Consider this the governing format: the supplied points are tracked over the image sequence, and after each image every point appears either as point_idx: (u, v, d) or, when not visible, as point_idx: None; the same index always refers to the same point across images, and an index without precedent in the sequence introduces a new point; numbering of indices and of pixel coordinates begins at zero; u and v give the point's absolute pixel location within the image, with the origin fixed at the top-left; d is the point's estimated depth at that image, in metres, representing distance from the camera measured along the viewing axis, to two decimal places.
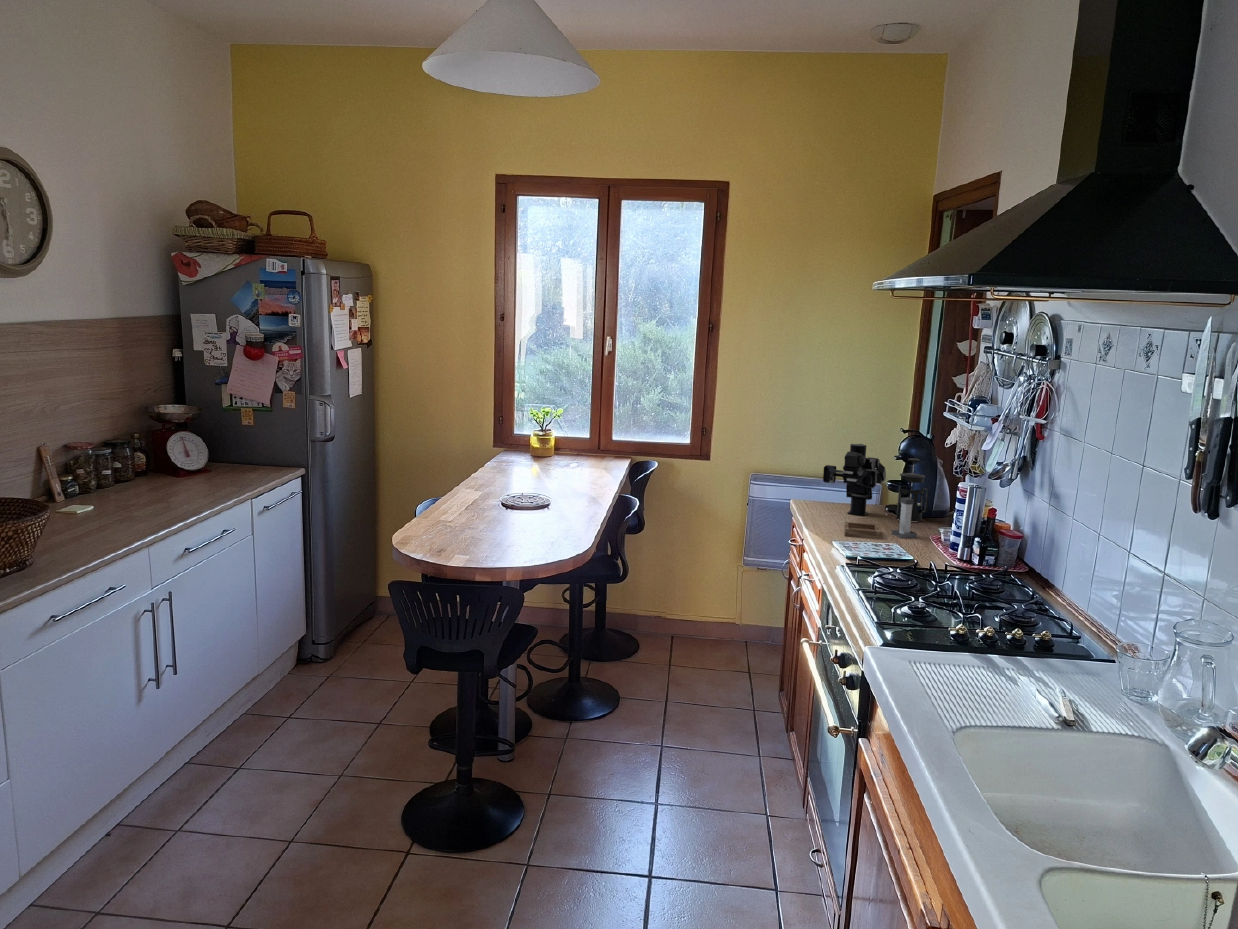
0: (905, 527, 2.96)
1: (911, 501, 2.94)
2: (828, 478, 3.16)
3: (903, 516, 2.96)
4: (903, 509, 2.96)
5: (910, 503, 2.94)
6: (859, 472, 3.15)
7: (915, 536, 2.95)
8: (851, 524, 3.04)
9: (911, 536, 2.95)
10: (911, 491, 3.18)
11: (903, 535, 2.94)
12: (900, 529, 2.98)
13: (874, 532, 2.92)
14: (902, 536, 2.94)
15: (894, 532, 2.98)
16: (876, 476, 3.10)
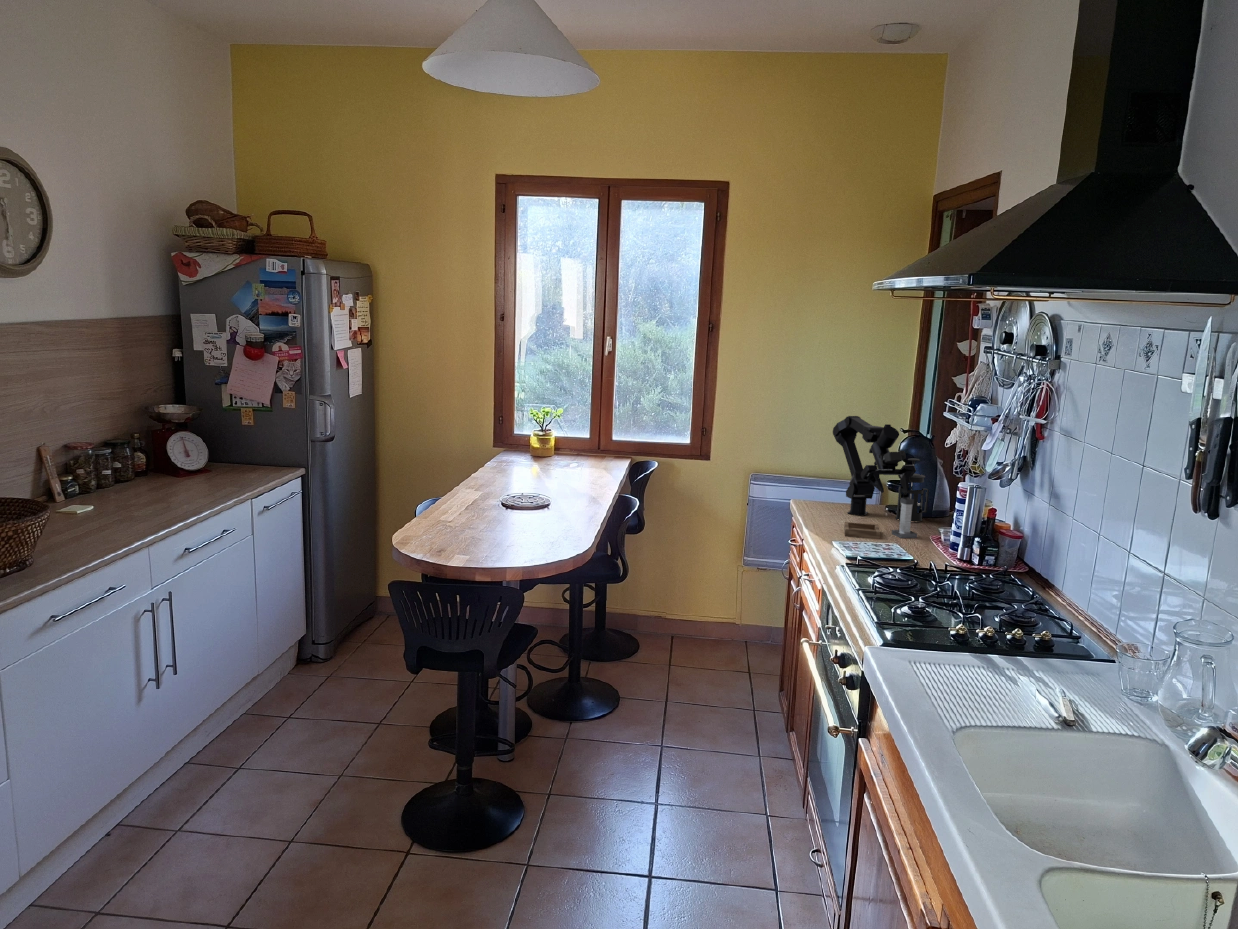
0: (905, 527, 2.96)
1: (911, 501, 2.94)
2: (869, 479, 3.07)
3: (903, 516, 2.96)
4: (903, 509, 2.96)
5: (910, 503, 2.94)
6: None
7: (915, 536, 2.95)
8: (851, 524, 3.04)
9: (911, 536, 2.95)
10: (911, 491, 3.18)
11: (903, 535, 2.94)
12: (900, 529, 2.98)
13: (874, 532, 2.92)
14: (902, 536, 2.94)
15: (894, 532, 2.98)
16: None
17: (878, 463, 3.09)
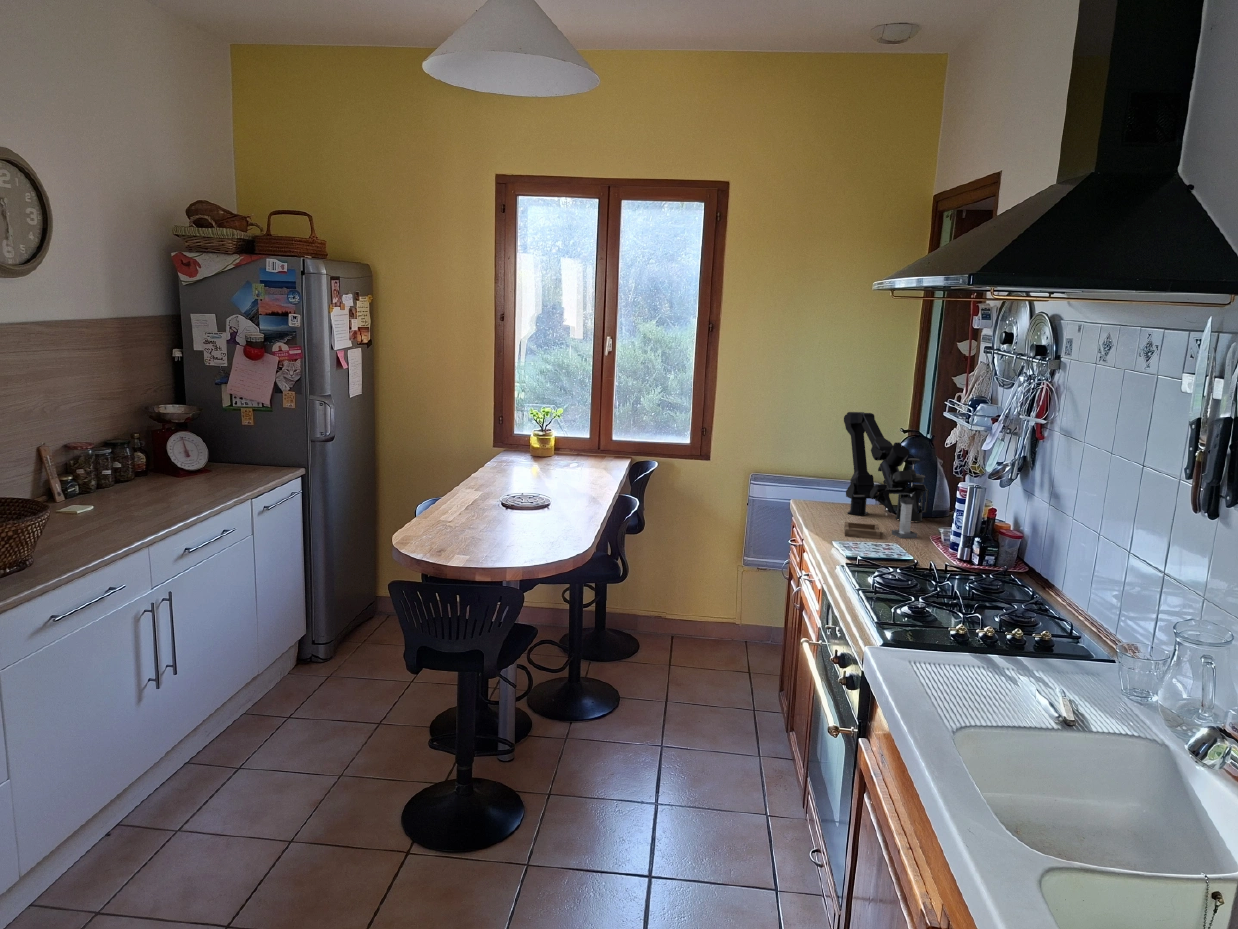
0: (905, 527, 2.96)
1: (911, 501, 2.94)
2: (879, 498, 3.00)
3: (903, 516, 2.96)
4: (903, 509, 2.96)
5: (910, 503, 2.94)
6: None
7: (915, 536, 2.95)
8: (851, 524, 3.04)
9: (911, 536, 2.95)
10: None
11: (903, 535, 2.94)
12: (900, 529, 2.98)
13: (874, 532, 2.92)
14: (902, 536, 2.94)
15: (894, 532, 2.98)
16: None
17: (888, 482, 3.03)
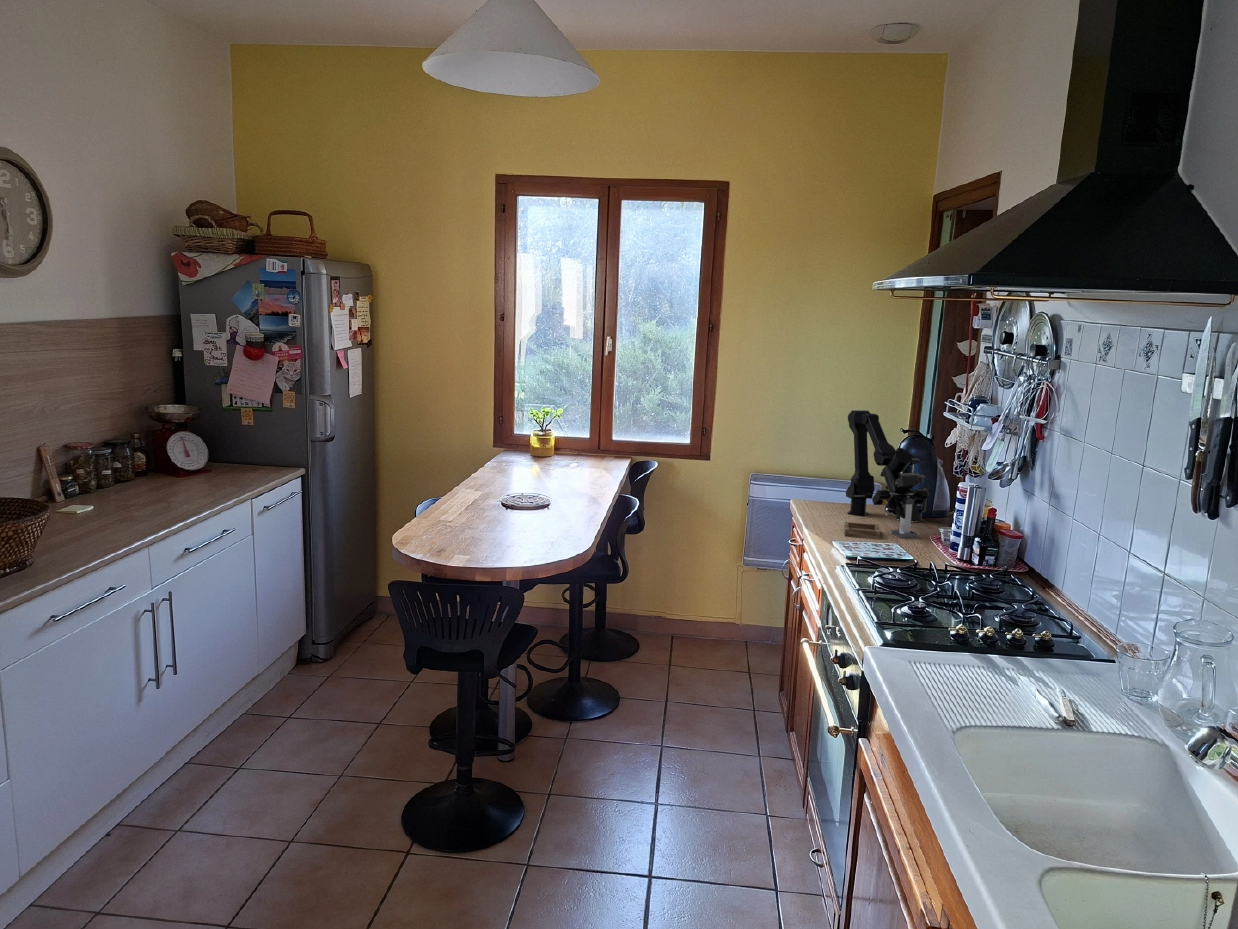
0: (905, 527, 2.96)
1: (911, 501, 2.94)
2: (890, 504, 2.99)
3: None
4: (903, 509, 2.96)
5: (910, 503, 2.94)
6: None
7: (915, 536, 2.95)
8: (851, 524, 3.04)
9: (911, 536, 2.95)
10: (911, 491, 3.18)
11: (903, 535, 2.94)
12: (900, 529, 2.98)
13: (874, 532, 2.92)
14: (902, 536, 2.94)
15: (894, 532, 2.98)
16: None
17: (890, 488, 3.01)
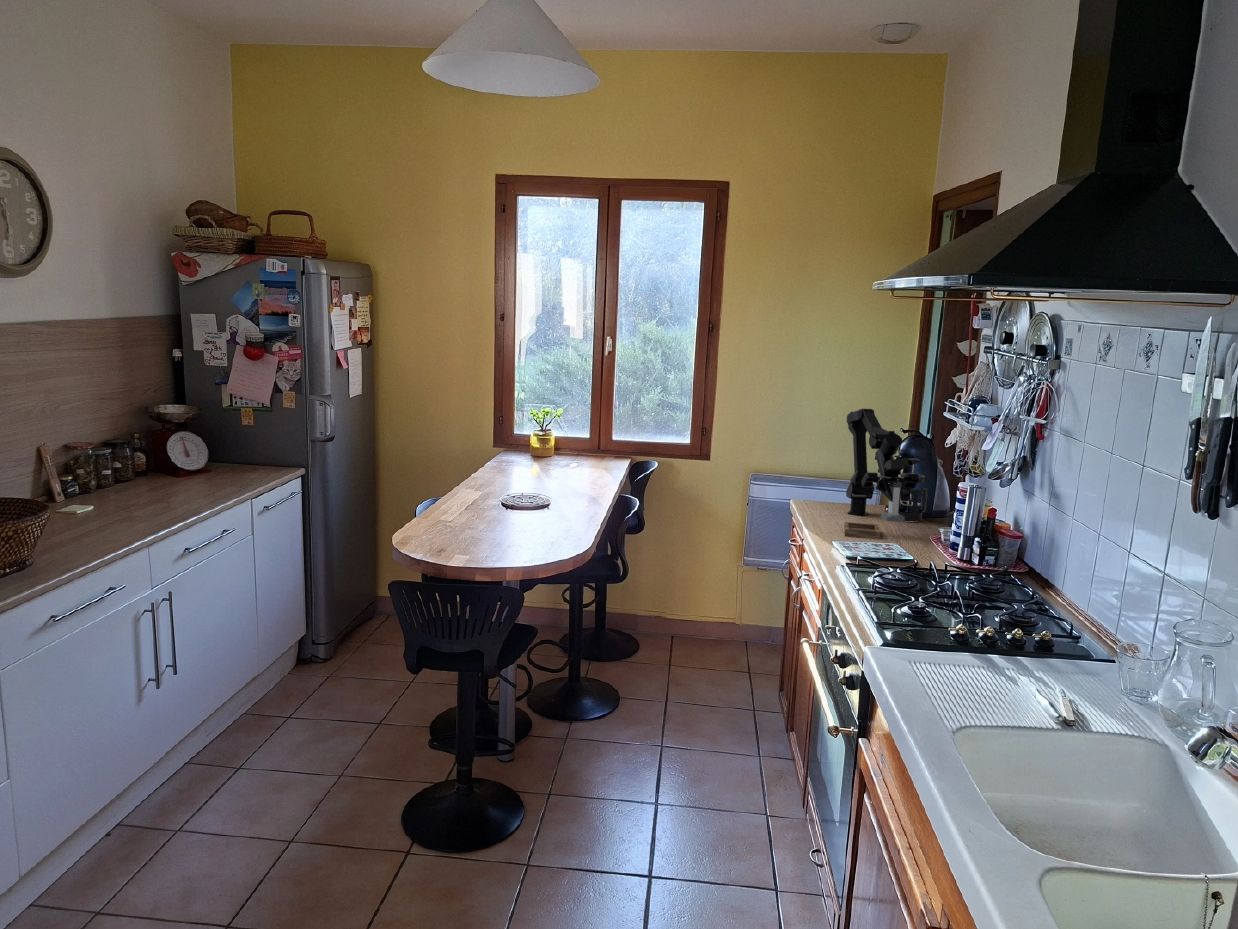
0: (892, 510, 2.95)
1: (899, 484, 2.93)
2: (879, 487, 2.99)
3: None
4: (891, 492, 2.95)
5: (898, 486, 2.93)
6: None
7: (903, 519, 2.94)
8: (851, 524, 3.04)
9: (898, 519, 2.94)
10: (911, 491, 3.18)
11: (890, 518, 2.94)
12: (888, 512, 2.97)
13: (874, 532, 2.92)
14: (889, 519, 2.94)
15: (882, 515, 2.98)
16: None
17: (880, 470, 3.01)
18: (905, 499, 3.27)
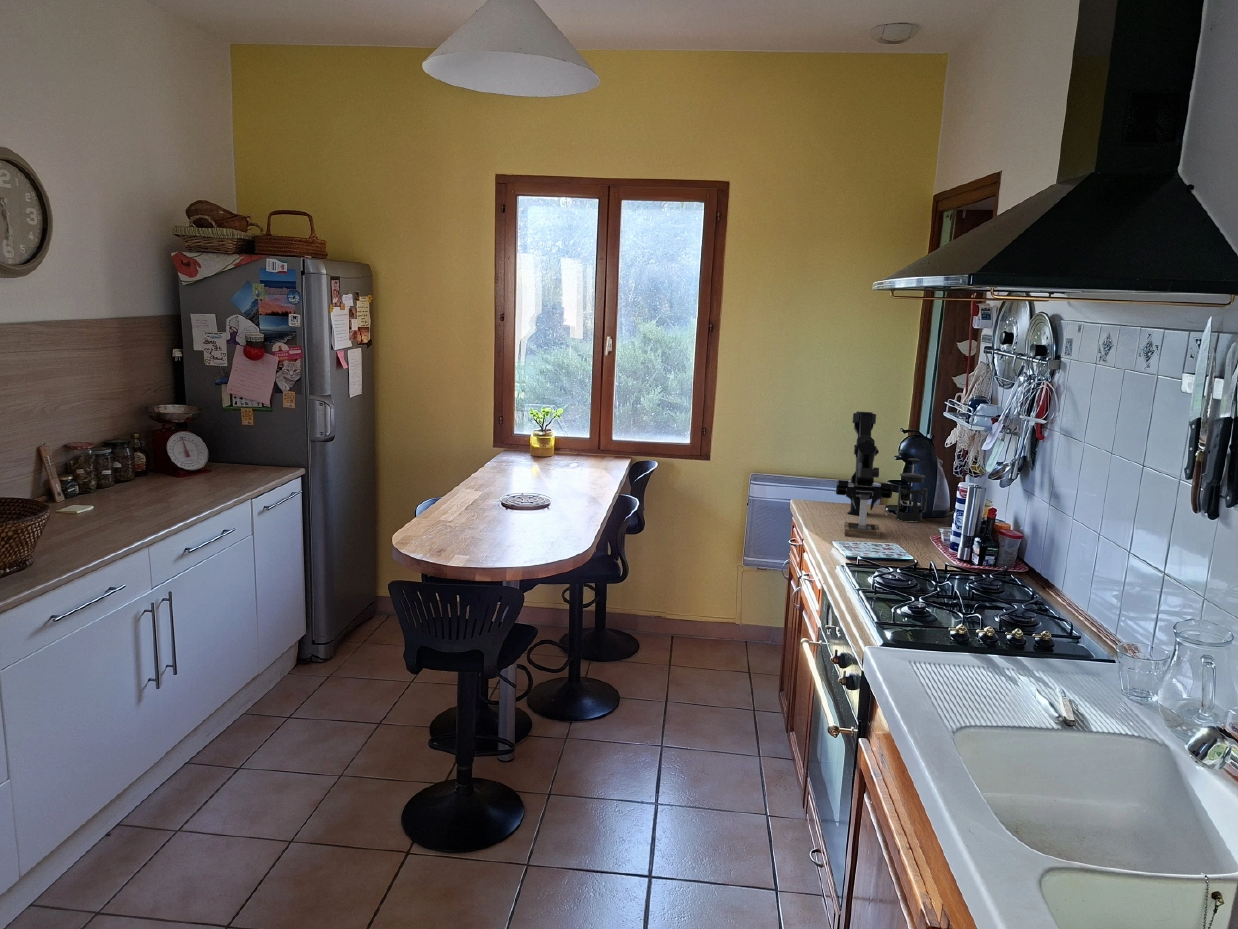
0: (860, 522, 2.97)
1: (866, 497, 2.95)
2: (848, 494, 3.02)
3: None
4: (860, 504, 2.98)
5: (865, 498, 2.95)
6: None
7: None
8: (851, 524, 3.04)
9: None
10: (911, 491, 3.18)
11: None
12: None
13: (874, 532, 2.92)
14: None
15: None
16: None
17: None
18: (905, 499, 3.27)
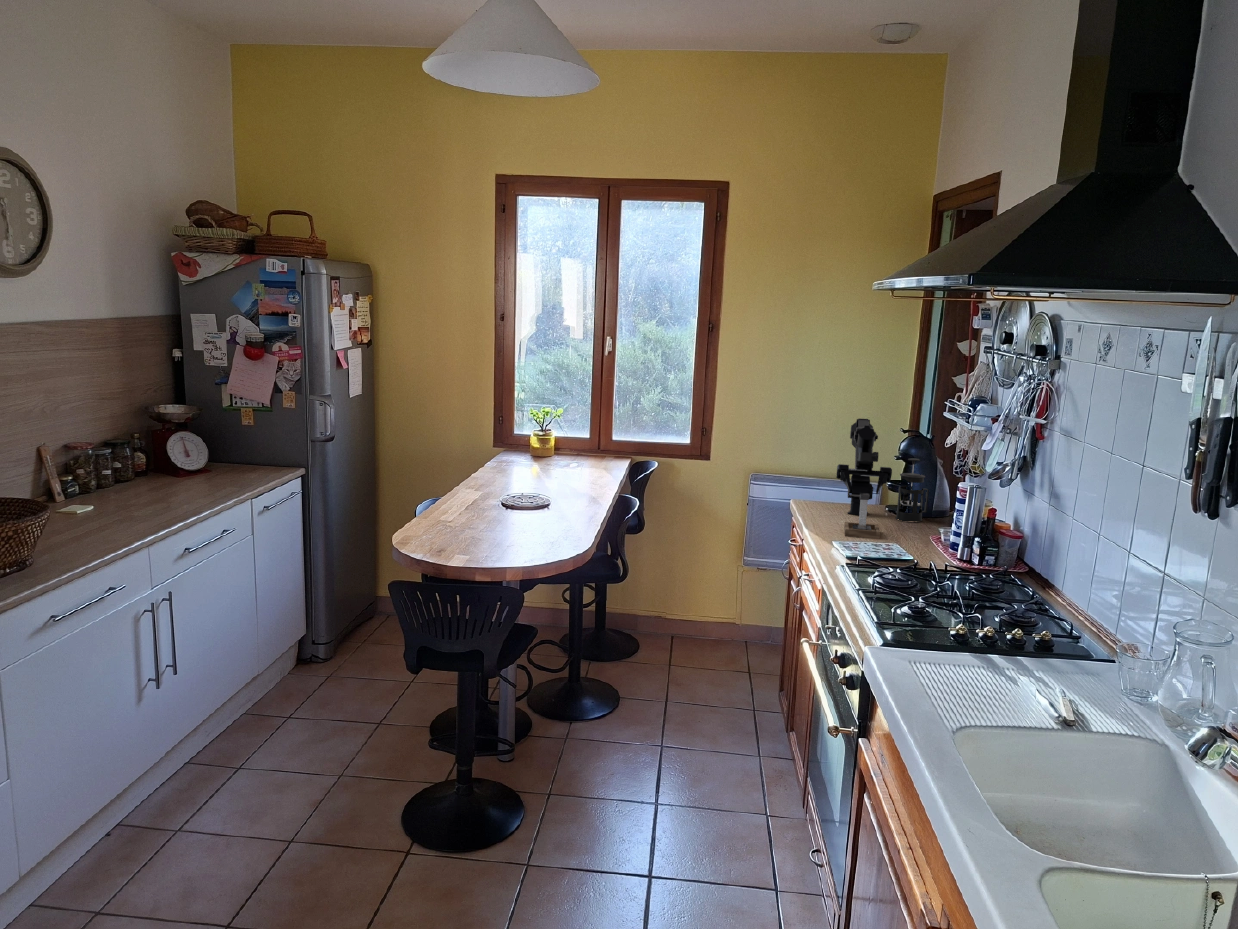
0: (860, 522, 2.97)
1: (866, 497, 2.95)
2: (842, 478, 3.11)
3: None
4: (860, 504, 2.98)
5: (865, 498, 2.95)
6: None
7: None
8: (851, 524, 3.04)
9: None
10: (911, 491, 3.18)
11: None
12: None
13: (874, 532, 2.92)
14: None
15: (852, 527, 3.01)
16: None
17: None
18: (905, 499, 3.27)
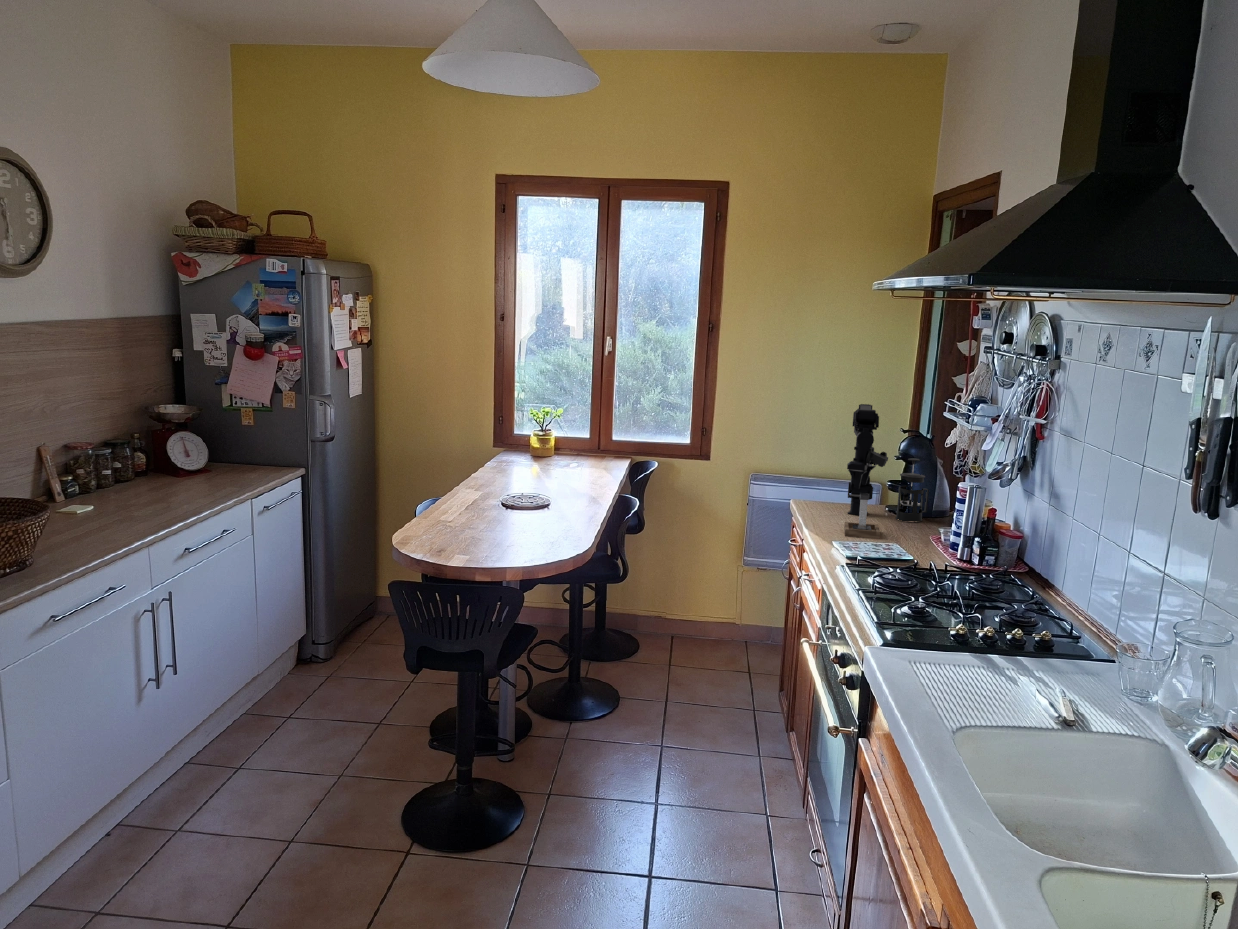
0: (860, 522, 2.97)
1: (866, 497, 2.95)
2: None
3: None
4: (860, 504, 2.98)
5: (865, 498, 2.95)
6: None
7: None
8: (851, 524, 3.04)
9: None
10: (911, 491, 3.18)
11: None
12: None
13: (874, 532, 2.92)
14: None
15: (852, 527, 3.01)
16: None
17: (862, 455, 3.11)
18: (905, 499, 3.27)
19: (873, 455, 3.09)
